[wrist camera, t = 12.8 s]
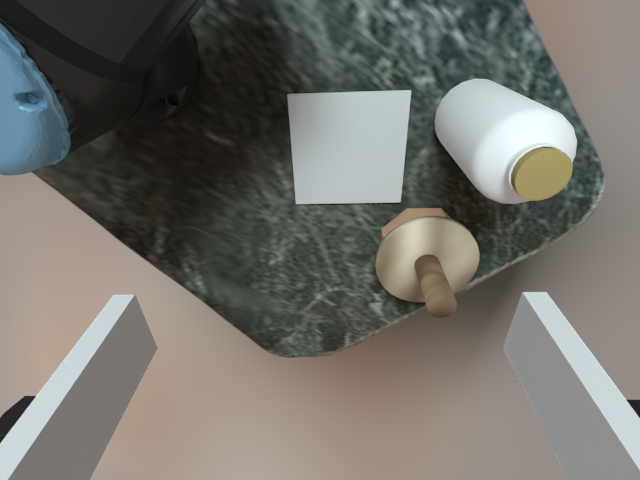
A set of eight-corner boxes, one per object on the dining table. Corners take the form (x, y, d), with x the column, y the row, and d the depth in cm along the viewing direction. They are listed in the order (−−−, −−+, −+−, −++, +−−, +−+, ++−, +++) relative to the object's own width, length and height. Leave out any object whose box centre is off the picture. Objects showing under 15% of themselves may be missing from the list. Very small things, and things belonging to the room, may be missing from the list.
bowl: (377, 268, 55) (381, 290, 51) (381, 205, 49) (386, 224, 45) (450, 268, 54) (459, 290, 50) (463, 203, 48) (475, 222, 44)
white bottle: (417, 128, 43) (462, 194, 28) (465, 61, 39) (547, 96, 24) (471, 161, 45) (540, 240, 30) (521, 101, 41) (630, 156, 26)
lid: (372, 296, 51) (379, 346, 44) (377, 216, 44) (386, 259, 37) (466, 296, 51) (489, 347, 43) (486, 214, 44) (518, 258, 36)
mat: (296, 202, 49) (296, 204, 49) (287, 93, 41) (287, 94, 41) (400, 201, 48) (400, 202, 48) (410, 90, 41) (411, 90, 40)
